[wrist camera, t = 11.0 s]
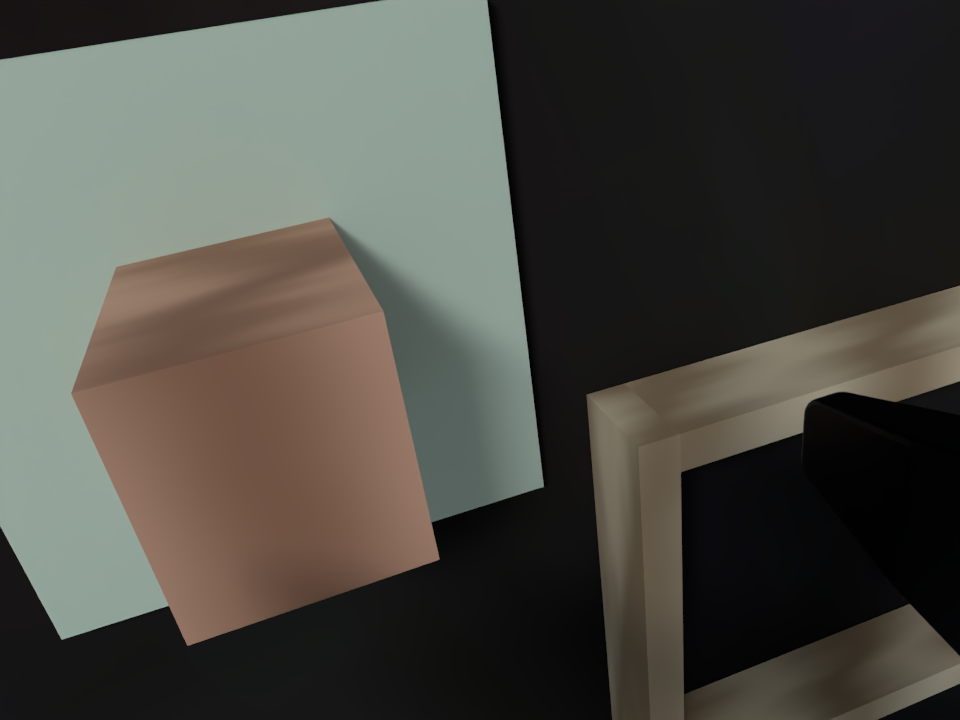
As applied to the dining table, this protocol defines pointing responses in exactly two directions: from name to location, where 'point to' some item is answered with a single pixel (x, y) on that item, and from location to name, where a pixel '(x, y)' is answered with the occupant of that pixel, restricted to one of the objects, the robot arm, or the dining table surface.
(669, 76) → the dining table surface
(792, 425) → the pine frame
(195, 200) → the sage board
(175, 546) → the terracotta block
